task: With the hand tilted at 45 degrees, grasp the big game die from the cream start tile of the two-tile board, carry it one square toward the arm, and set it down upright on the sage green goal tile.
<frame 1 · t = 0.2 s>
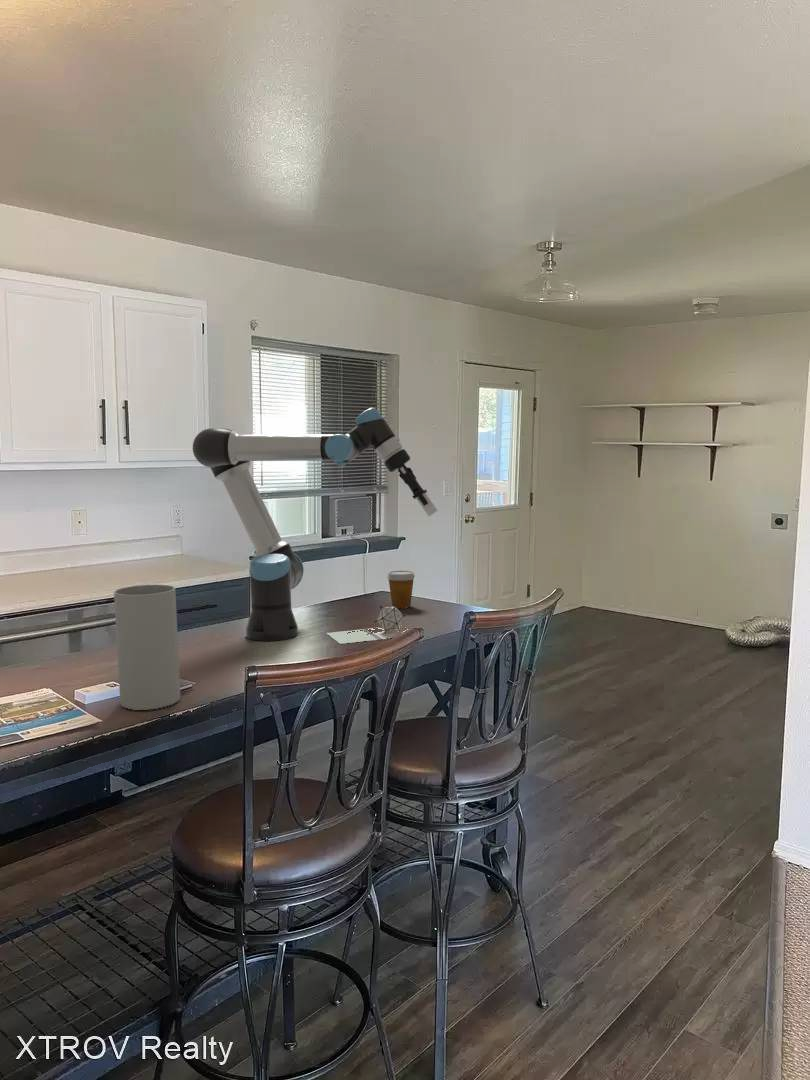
hand: (433, 513, 234), 35 cm above the table, tool tilted 35°, fingers open, 13 cm apart
game board: (372, 634, 230), on the table
game die: (390, 632, 233), resting on game board
cylinder vase: (150, 703, 171), on the table
disposable coffee cup: (401, 607, 270), on the table
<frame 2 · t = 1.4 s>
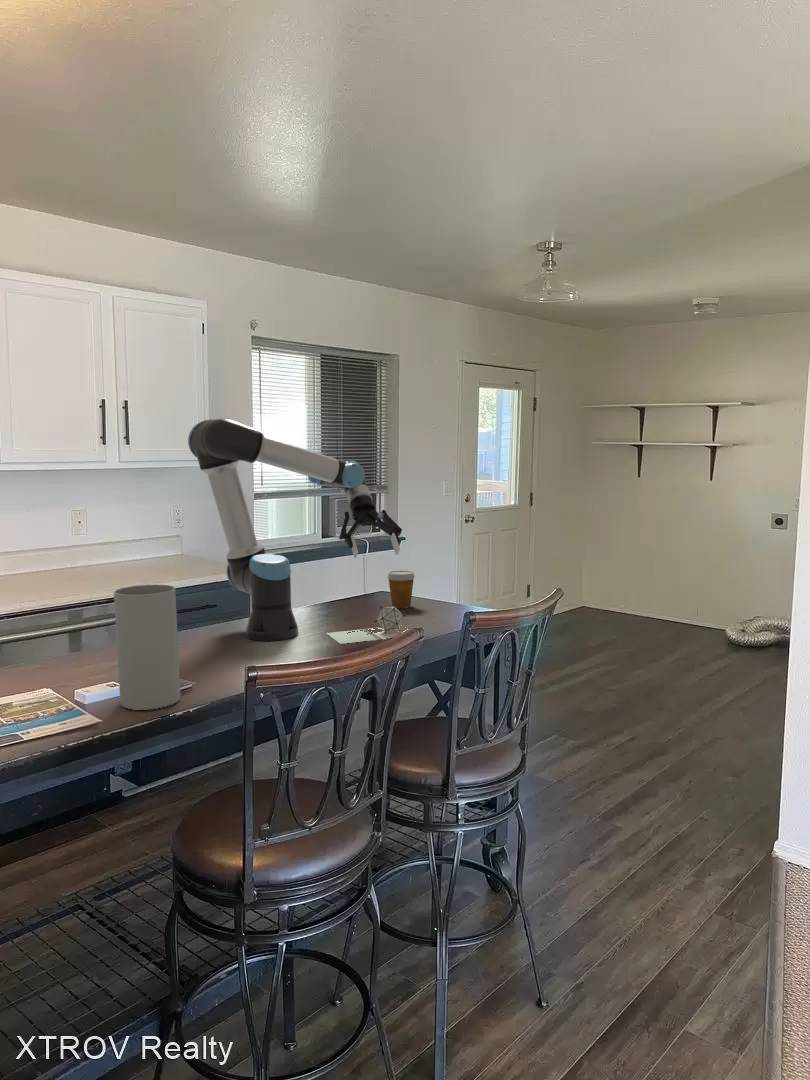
hand: (377, 553, 240), 22 cm above the table, tool tilted 45°, fingers open, 13 cm apart
nothing on the table moved.
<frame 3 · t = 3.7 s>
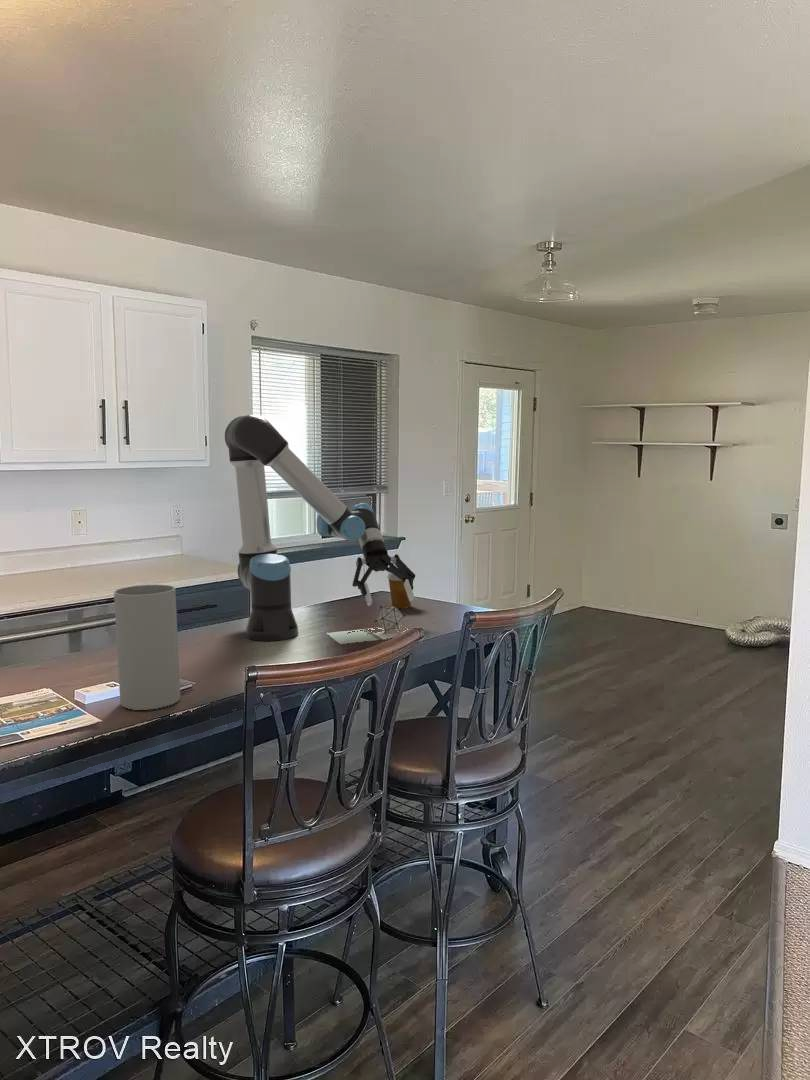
hand: (391, 601, 236), 8 cm above the table, tool tilted 45°, fingers open, 13 cm apart
nothing on the table moved.
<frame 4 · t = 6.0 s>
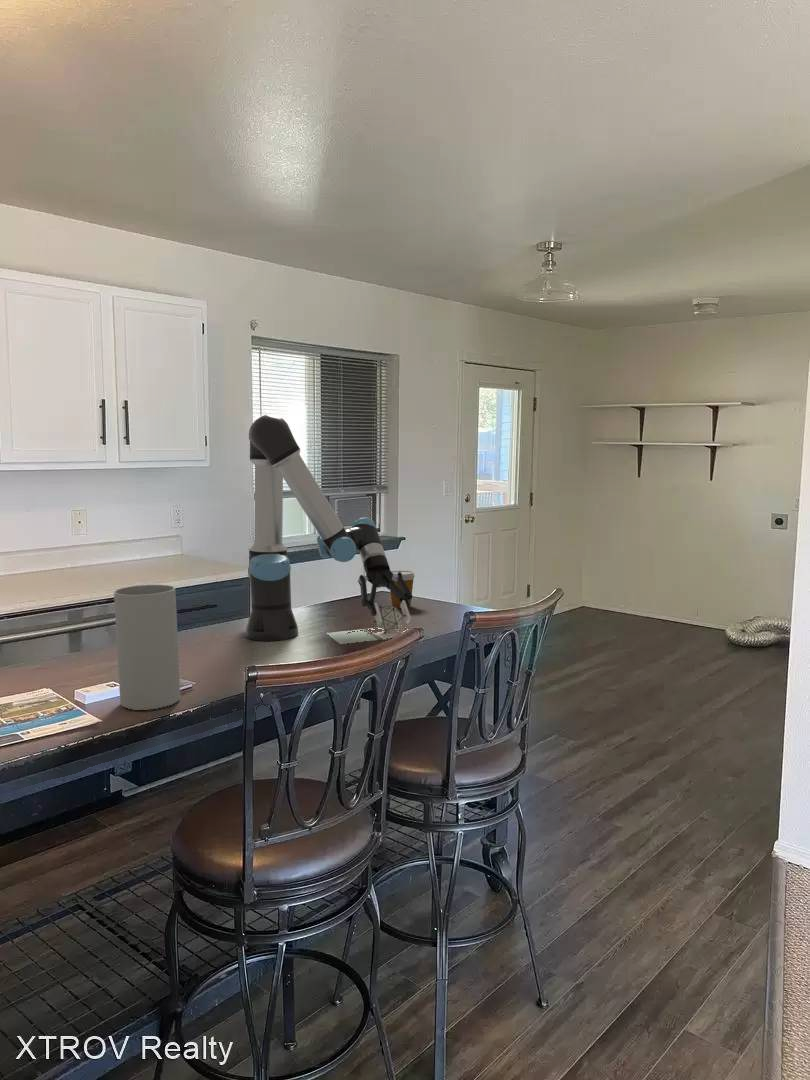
hand: (394, 622, 229), 4 cm above the table, tool tilted 45°, fingers closed on game die, 8 cm apart
game die: (390, 632, 233), resting on game board, touching gripper
everything else where it was.
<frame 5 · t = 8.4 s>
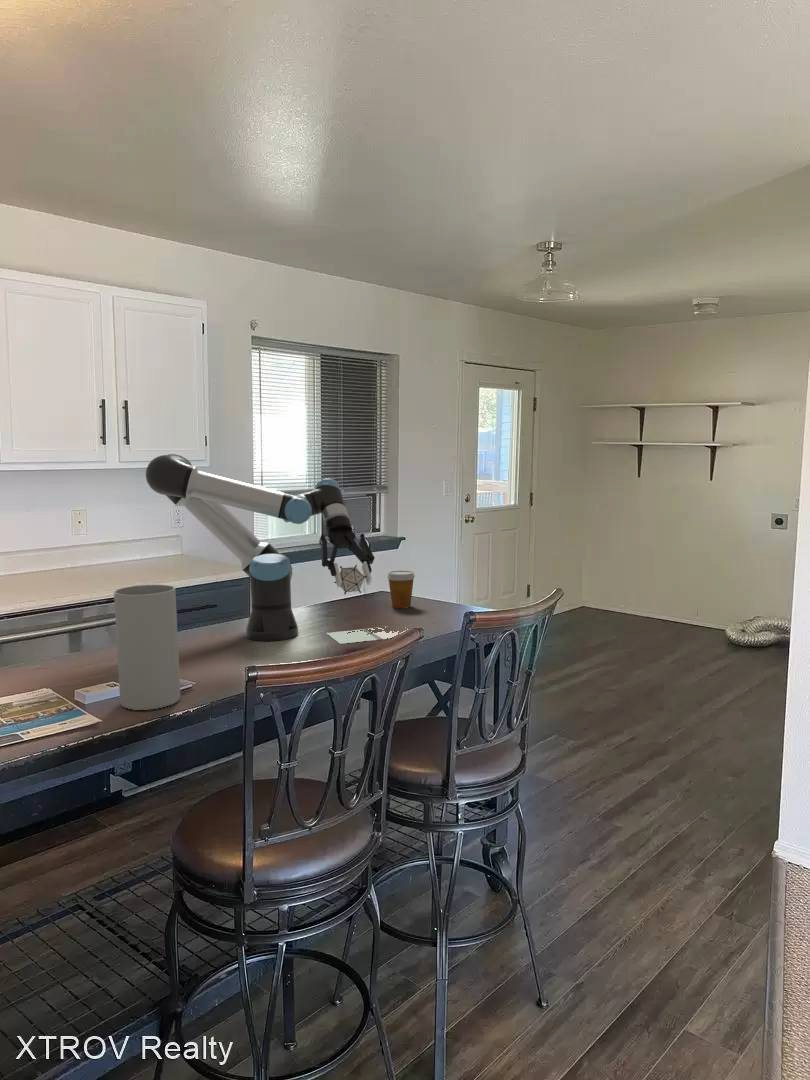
hand: (354, 583, 223), 16 cm above the table, tool tilted 45°, fingers closed on game die, 8 cm apart
game die: (350, 593, 227), point 13 cm above the table, touching gripper
everything else where it was.
when the fingers open (6 cm above the table, at t = 11.0 s): game die drops 2 cm, resting on game board.
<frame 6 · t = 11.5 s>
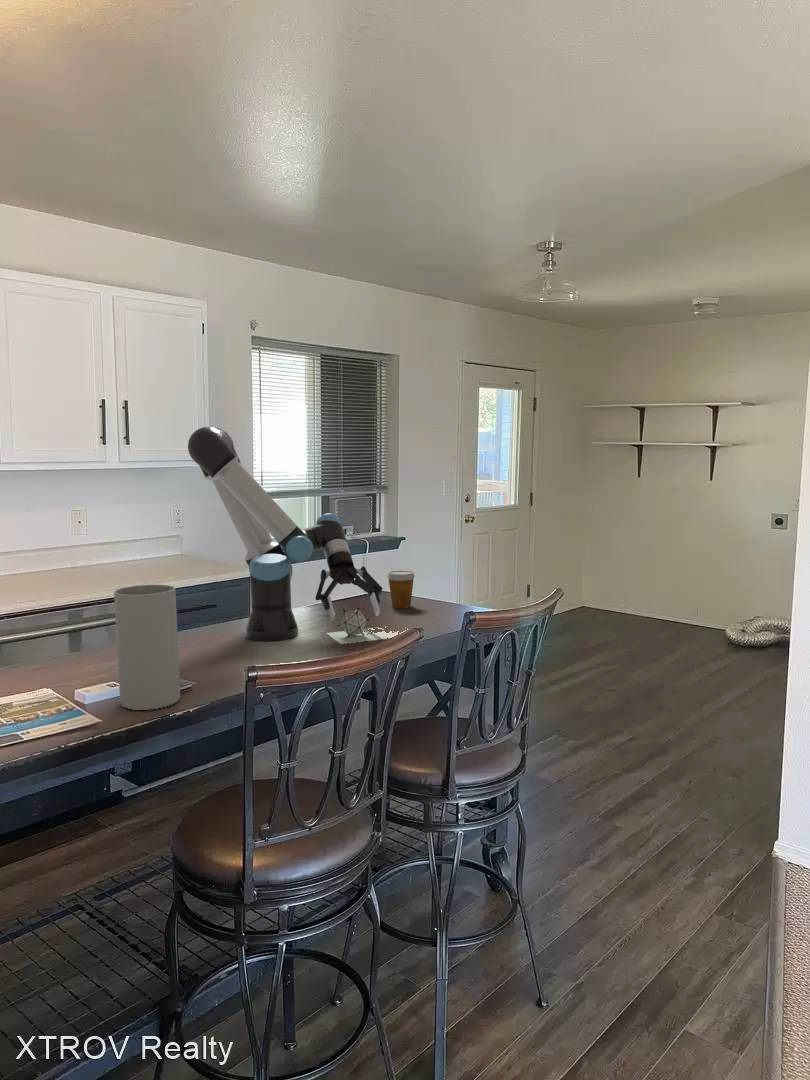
hand: (355, 615, 225), 7 cm above the table, tool tilted 45°, fingers open, 13 cm apart
game die: (353, 636, 228), resting on game board
everything else where it was.
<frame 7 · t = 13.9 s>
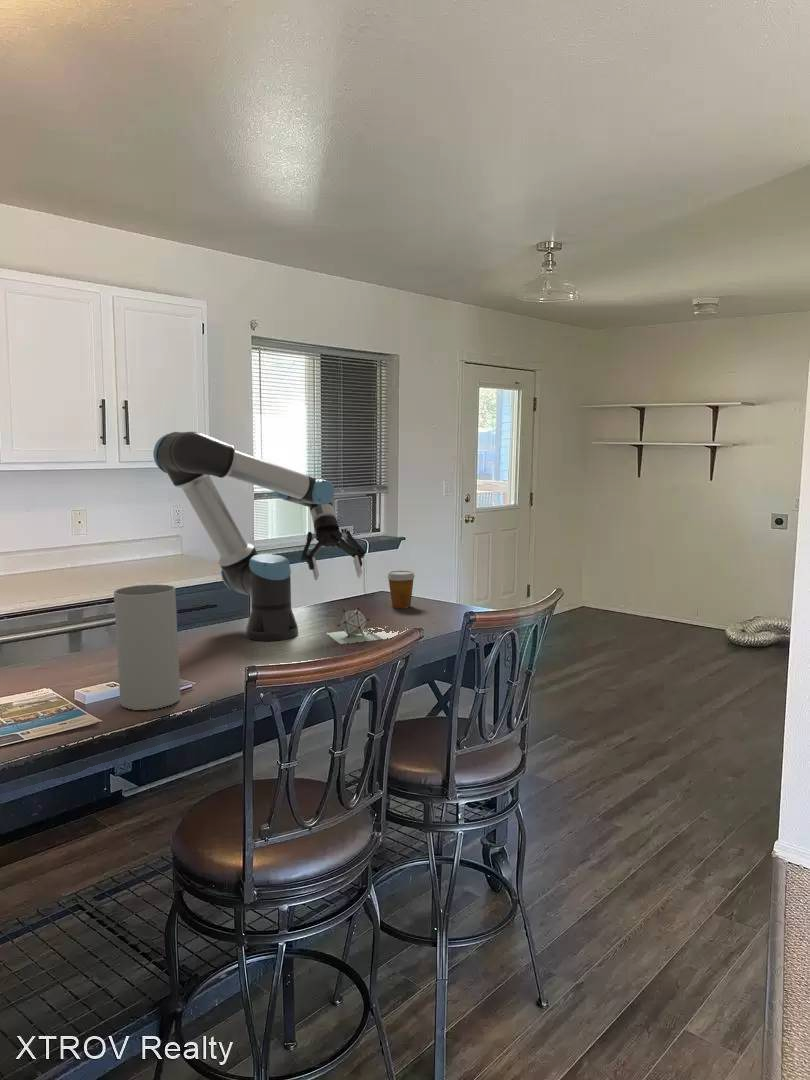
hand: (338, 576, 236), 16 cm above the table, tool tilted 45°, fingers open, 13 cm apart
nothing on the table moved.
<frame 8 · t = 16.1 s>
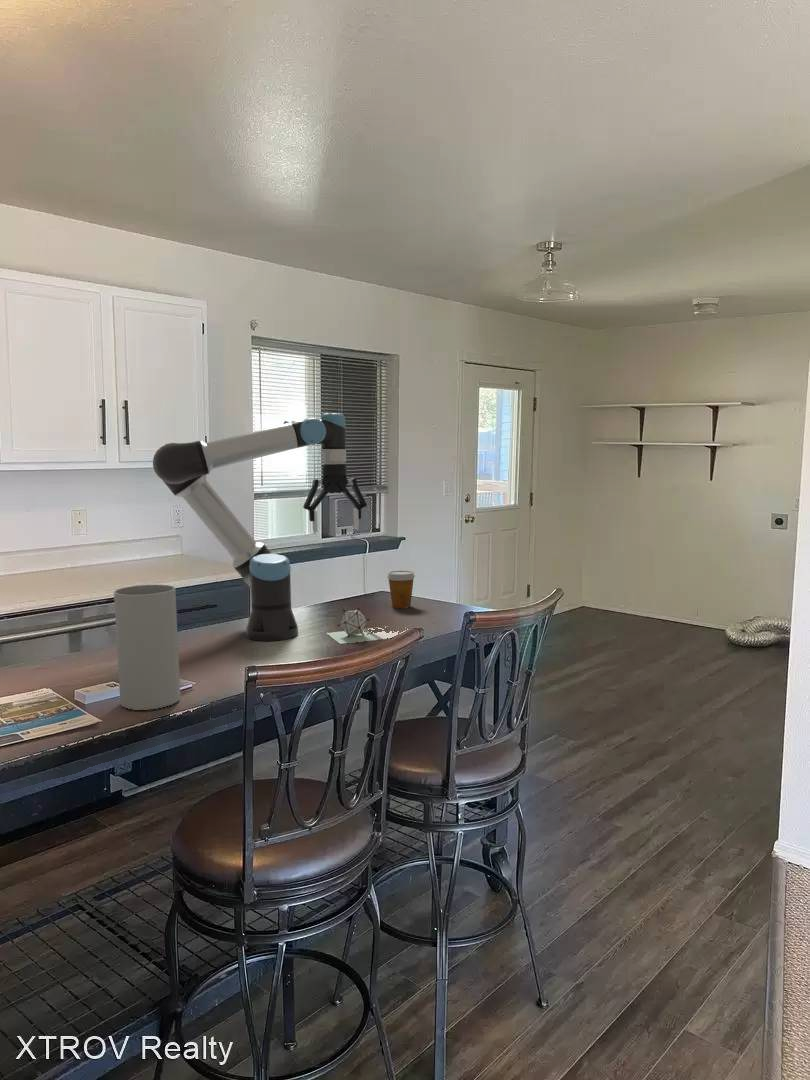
hand: (335, 530, 247), 29 cm above the table, tool pointing down, fingers open, 13 cm apart
nothing on the table moved.
at the end: game die inside the target area on the game board (0.5 cm from its centre), point 0.0 cm above the game board's base; game die tilted 0°; the gripper is holding nothing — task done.
